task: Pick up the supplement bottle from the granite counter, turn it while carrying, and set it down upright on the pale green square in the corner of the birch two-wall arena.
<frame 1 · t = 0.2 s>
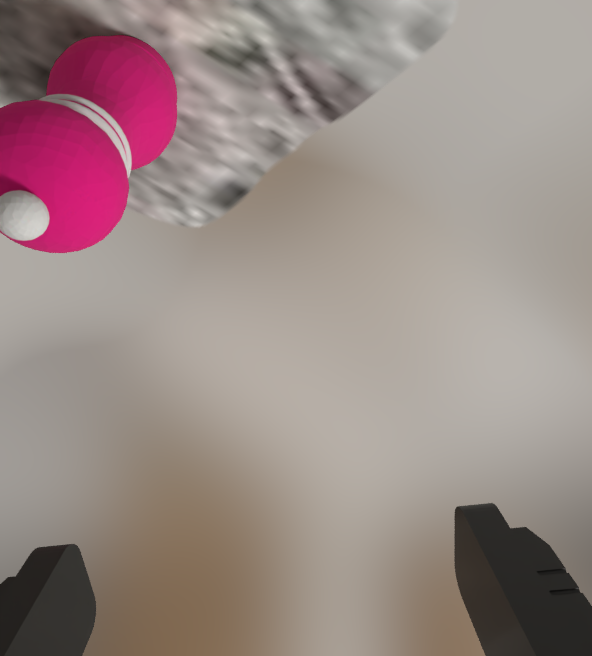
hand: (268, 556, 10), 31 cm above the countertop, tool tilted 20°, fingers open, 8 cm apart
pepper mill: (130, 88, 32), on the countertop
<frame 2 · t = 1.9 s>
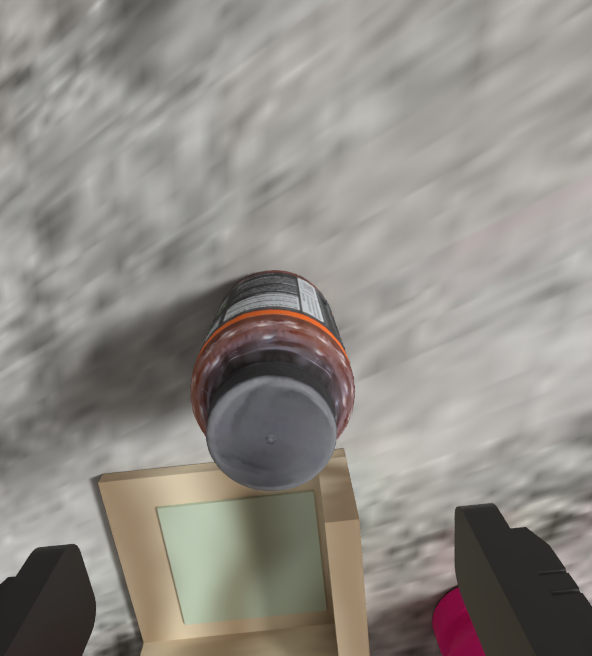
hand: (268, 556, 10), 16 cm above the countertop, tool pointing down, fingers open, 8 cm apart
pepper mill: (476, 612, 32), on the countertop
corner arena: (240, 556, 30), on the countertop
supplement bottle: (275, 321, 25), on the countertop
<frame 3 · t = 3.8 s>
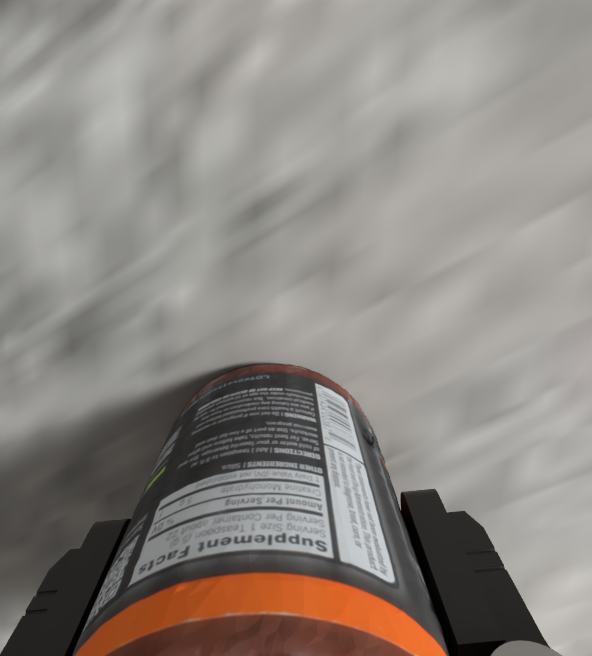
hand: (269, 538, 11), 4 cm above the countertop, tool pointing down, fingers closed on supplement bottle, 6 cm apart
supplement bottle: (274, 444, 14), on the countertop, touching gripper
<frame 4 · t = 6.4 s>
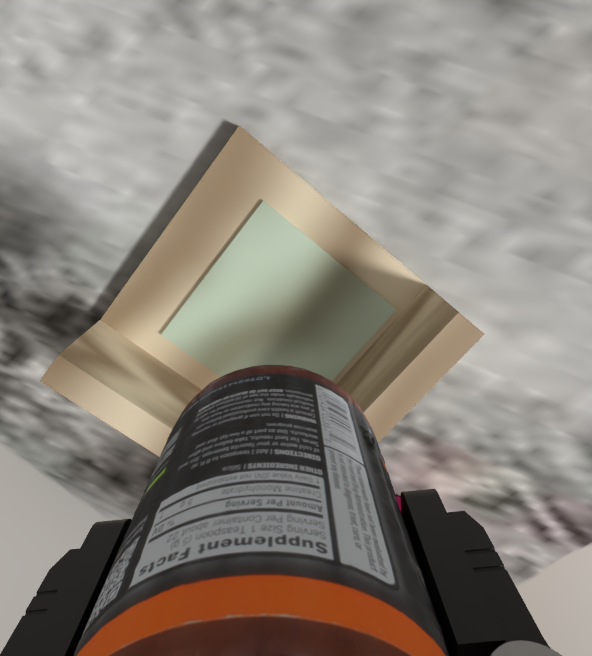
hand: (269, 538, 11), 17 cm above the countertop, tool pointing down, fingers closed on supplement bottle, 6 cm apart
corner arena: (265, 318, 27), on the countertop
supplement bottle: (274, 445, 14), point 13 cm above the countertop, touching gripper
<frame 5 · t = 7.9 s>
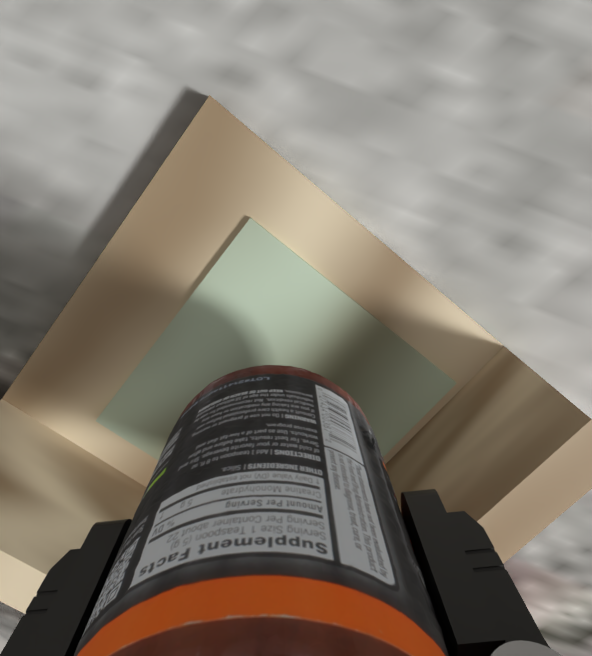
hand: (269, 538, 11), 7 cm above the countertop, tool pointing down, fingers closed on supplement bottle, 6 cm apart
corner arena: (256, 391, 18), on the countertop
supplement bottle: (274, 445, 14), point 4 cm above the countertop, touching gripper
when the fingers open (6 cm above the countertop, at t = 9.2 s): supplement bottle drops 1 cm, resting on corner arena.
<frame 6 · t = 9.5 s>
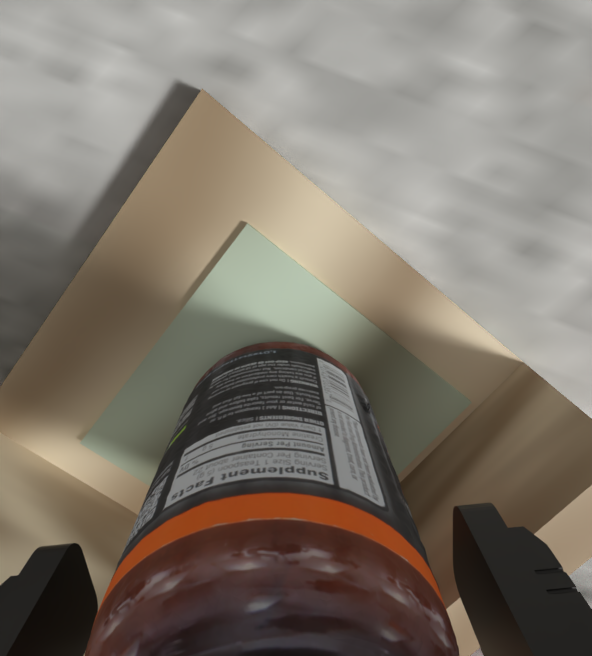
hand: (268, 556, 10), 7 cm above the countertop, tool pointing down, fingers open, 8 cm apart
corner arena: (254, 410, 16), on the countertop
supplement bottle: (279, 417, 16), point 1 cm above the countertop, touching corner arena
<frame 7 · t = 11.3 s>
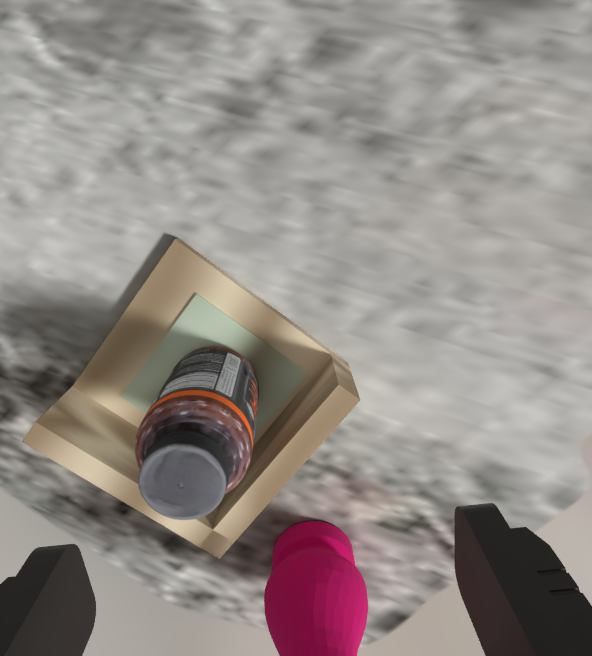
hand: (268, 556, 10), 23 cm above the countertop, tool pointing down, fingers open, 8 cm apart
pepper mill: (312, 550, 38), on the countertop
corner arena: (205, 380, 33), on the countertop
supplement bottle: (216, 383, 33), point 1 cm above the countertop, touching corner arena
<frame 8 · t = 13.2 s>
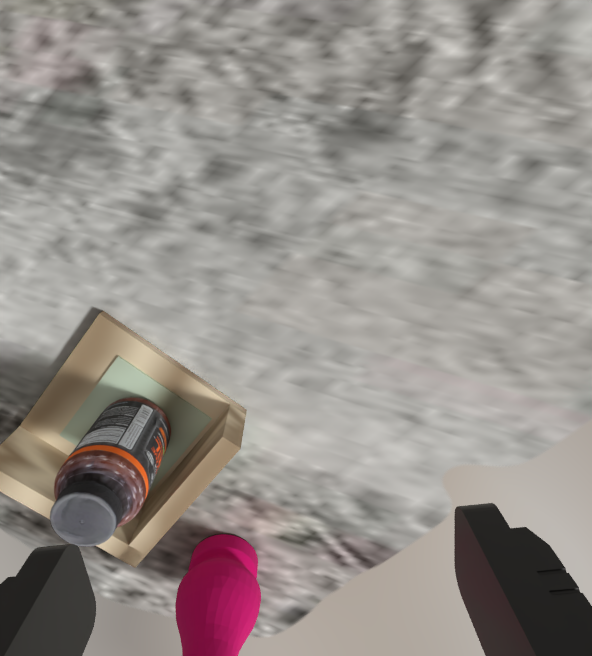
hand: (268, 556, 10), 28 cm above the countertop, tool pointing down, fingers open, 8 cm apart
pepper mill: (225, 558, 46), on the countertop
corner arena: (130, 422, 41), on the countertop
supplement bottle: (137, 425, 40), point 1 cm above the countertop, touching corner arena
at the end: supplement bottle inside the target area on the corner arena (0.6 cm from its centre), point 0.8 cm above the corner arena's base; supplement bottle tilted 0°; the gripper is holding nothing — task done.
